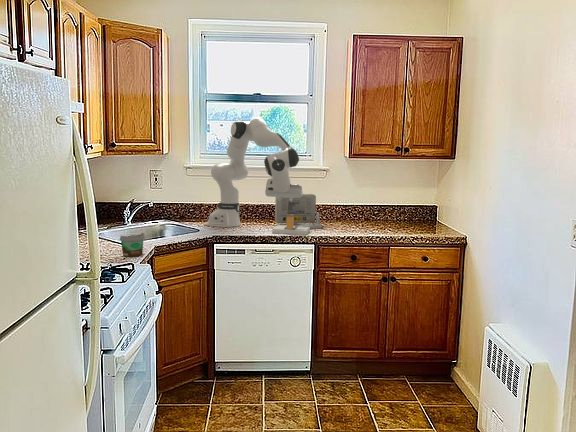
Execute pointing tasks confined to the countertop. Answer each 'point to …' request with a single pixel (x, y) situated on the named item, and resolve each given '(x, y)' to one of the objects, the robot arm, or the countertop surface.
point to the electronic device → (313, 225)
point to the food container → (132, 245)
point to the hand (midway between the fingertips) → (285, 200)
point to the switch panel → (291, 230)
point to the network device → (296, 209)
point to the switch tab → (290, 221)
